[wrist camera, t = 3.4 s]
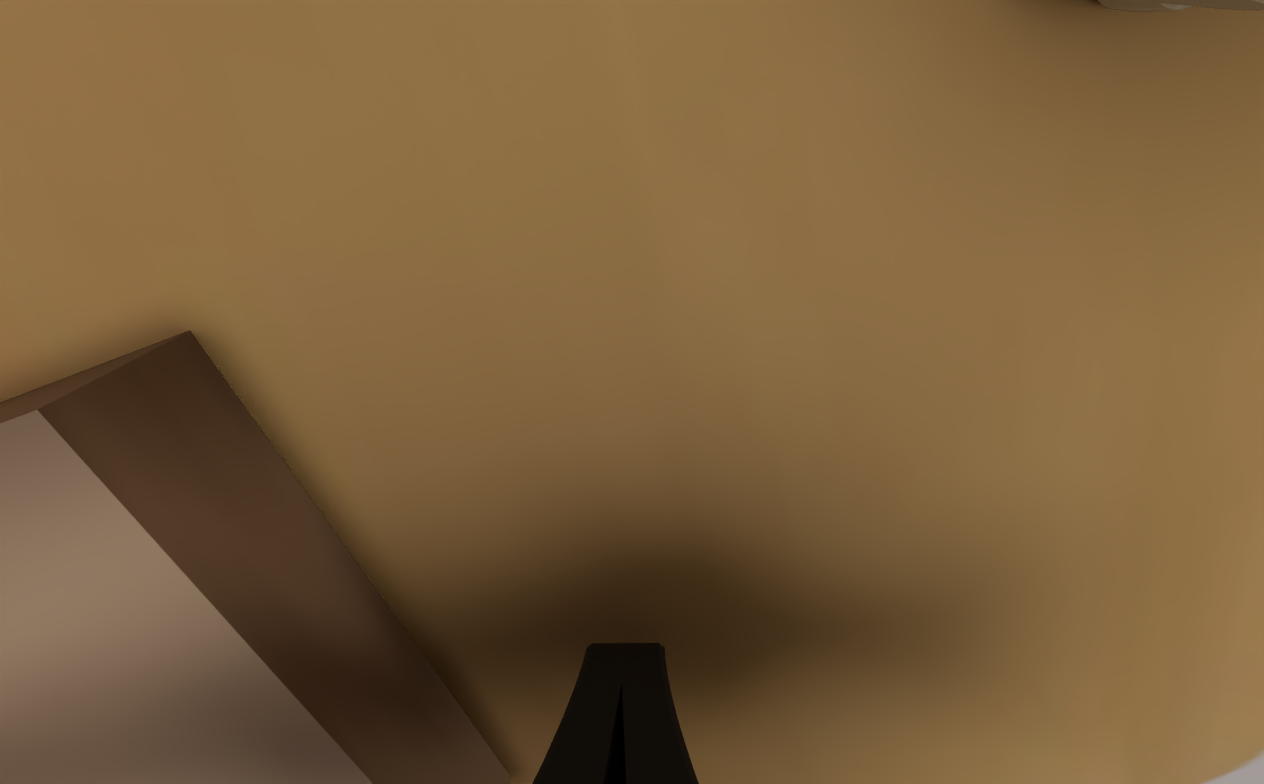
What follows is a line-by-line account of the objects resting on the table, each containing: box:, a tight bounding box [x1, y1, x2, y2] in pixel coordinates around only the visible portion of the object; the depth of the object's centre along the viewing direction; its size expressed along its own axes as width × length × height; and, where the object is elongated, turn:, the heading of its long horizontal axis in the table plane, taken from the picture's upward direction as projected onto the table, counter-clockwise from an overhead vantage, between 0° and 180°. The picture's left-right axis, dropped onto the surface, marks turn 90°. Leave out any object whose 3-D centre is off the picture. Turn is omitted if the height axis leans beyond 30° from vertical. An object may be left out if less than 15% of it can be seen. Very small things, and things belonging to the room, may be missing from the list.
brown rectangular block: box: [0, 331, 510, 784], centre depth 12 cm, size 12×7×3 cm, turn 20°
